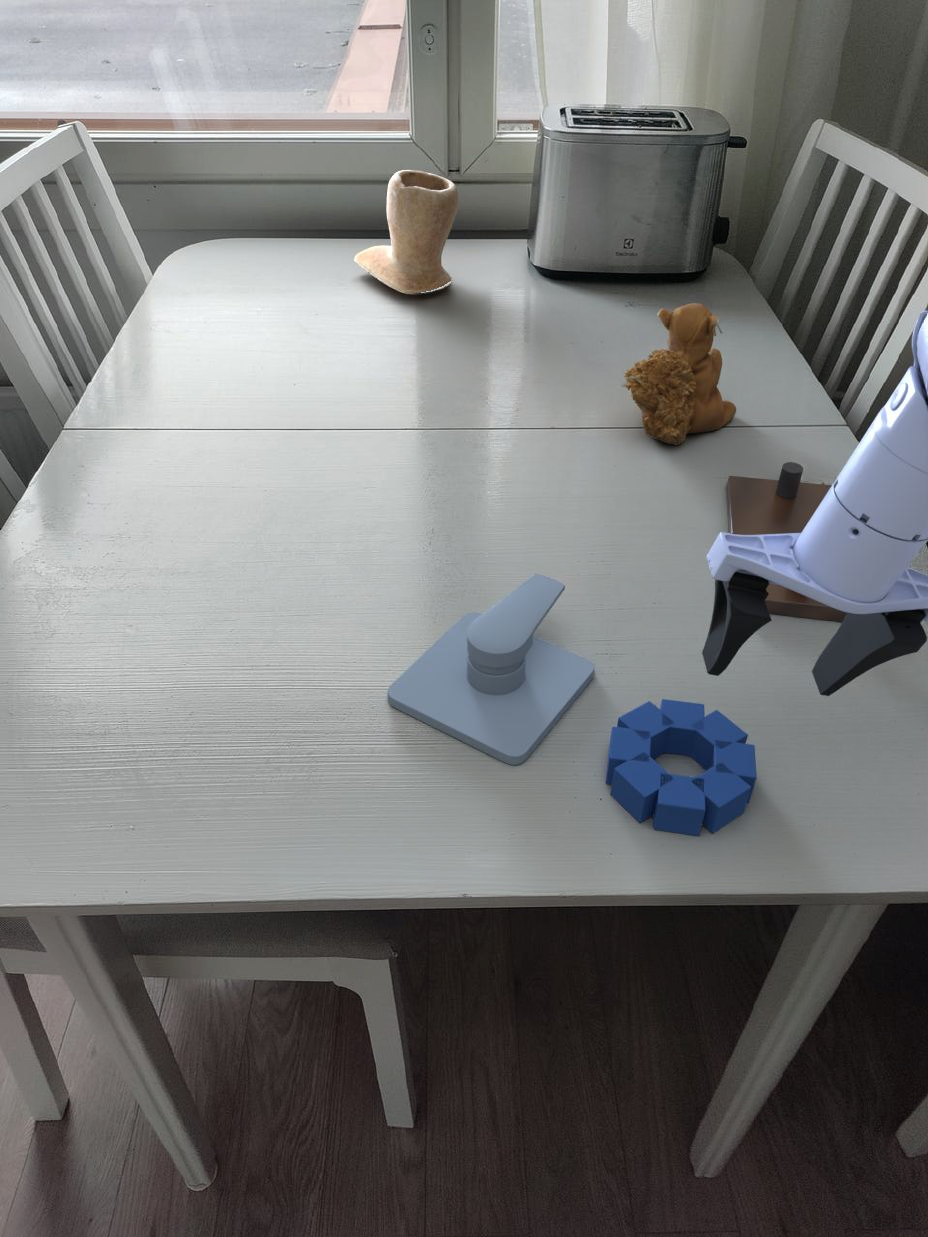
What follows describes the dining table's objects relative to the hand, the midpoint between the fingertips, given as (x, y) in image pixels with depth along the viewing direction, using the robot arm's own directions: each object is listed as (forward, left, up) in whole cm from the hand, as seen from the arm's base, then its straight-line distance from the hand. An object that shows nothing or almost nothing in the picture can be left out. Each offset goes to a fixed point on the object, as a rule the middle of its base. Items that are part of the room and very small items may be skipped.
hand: (765, 673), depth 61 cm
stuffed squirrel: (+5, -52, -12) cm, 54 cm away
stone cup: (+44, -90, -12) cm, 101 cm away
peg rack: (-6, -30, -11) cm, 33 cm away
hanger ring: (+4, 0, -11) cm, 12 cm away
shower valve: (+18, -8, -12) cm, 23 cm away
